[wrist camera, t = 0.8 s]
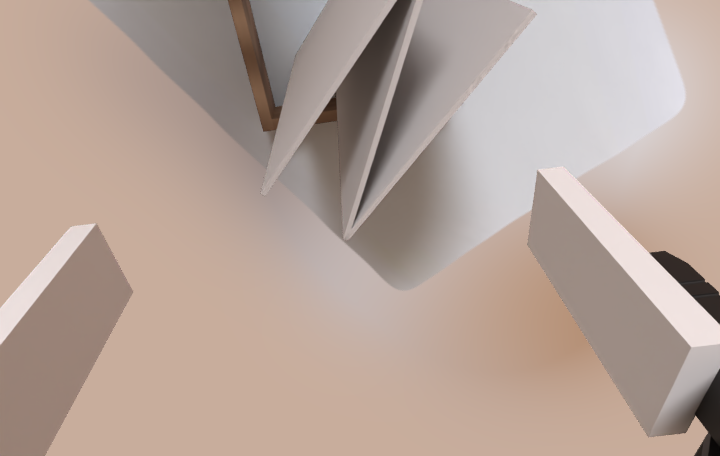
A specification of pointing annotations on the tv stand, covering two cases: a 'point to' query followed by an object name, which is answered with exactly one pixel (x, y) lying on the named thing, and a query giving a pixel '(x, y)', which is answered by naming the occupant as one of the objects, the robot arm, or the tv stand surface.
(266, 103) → the rack
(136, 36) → the tv stand surface
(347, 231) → the brochure
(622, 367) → the robot arm
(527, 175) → the tv stand surface
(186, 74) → the tv stand surface
